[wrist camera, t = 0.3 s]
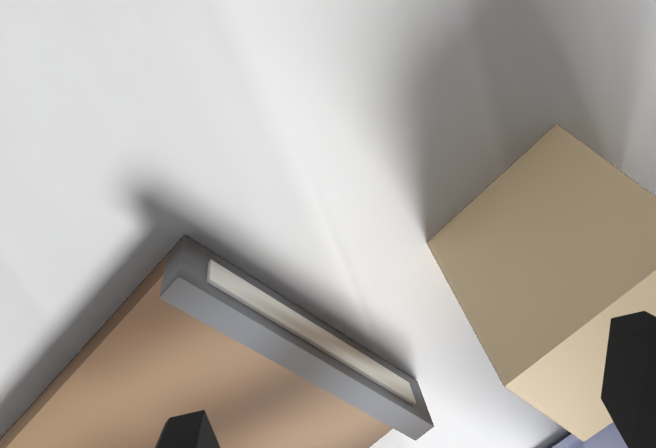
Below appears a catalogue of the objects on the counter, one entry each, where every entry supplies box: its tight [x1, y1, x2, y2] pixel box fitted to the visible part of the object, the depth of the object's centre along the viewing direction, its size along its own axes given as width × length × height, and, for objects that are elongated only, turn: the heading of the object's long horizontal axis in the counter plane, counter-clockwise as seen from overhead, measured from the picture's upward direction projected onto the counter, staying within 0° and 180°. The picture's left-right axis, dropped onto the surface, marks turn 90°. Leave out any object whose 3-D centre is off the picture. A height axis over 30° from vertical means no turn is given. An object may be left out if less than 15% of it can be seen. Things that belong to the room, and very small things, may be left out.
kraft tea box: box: [427, 124, 656, 442], centre depth 18 cm, size 4×6×7 cm, turn 137°
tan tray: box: [0, 235, 434, 448], centre depth 23 cm, size 12×14×2 cm
